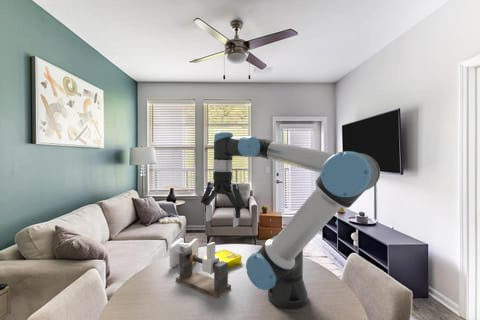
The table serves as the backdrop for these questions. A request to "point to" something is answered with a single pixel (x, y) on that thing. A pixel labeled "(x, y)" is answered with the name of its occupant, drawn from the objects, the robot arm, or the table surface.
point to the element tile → (229, 258)
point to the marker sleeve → (210, 259)
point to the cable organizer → (176, 250)
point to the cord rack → (200, 281)
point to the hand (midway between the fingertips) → (221, 223)
